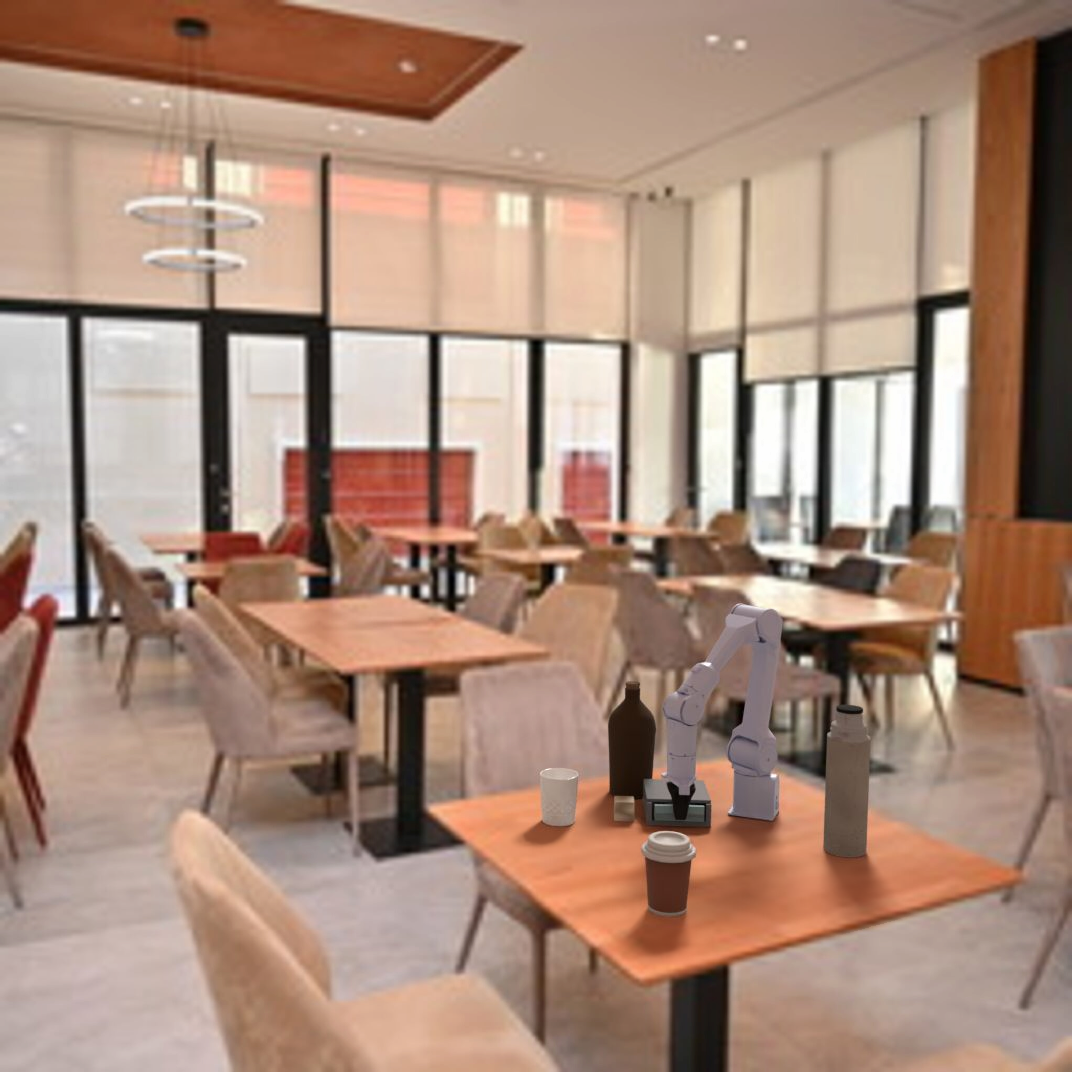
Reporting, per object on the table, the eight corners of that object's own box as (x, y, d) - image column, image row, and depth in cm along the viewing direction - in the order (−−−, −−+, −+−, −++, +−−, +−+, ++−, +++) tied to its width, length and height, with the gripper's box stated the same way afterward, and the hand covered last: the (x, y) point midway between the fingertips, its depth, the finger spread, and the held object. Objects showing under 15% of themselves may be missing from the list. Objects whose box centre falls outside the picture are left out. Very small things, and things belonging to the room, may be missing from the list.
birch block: (633, 815, 223) (633, 796, 223) (633, 821, 219) (634, 802, 219) (613, 814, 223) (614, 795, 223) (614, 820, 219) (614, 801, 219)
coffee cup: (705, 908, 177) (707, 838, 176) (672, 925, 171) (674, 852, 170) (662, 892, 184) (663, 824, 183) (628, 908, 177) (630, 837, 176)
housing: (702, 803, 231) (703, 780, 231) (710, 827, 217) (711, 802, 216) (642, 802, 232) (643, 778, 231) (646, 825, 217) (647, 800, 217)
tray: (697, 802, 228) (698, 788, 228) (704, 821, 216) (704, 806, 216) (650, 801, 228) (651, 787, 228) (654, 820, 216) (654, 805, 216)
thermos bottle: (835, 839, 211) (840, 699, 208) (873, 849, 205) (879, 706, 203) (815, 849, 205) (820, 706, 203) (854, 861, 199) (859, 713, 197)
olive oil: (625, 803, 231) (627, 689, 229) (597, 789, 240) (599, 680, 238) (664, 795, 236) (666, 684, 234) (635, 782, 245) (637, 675, 243)
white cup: (578, 828, 215) (578, 779, 214) (538, 827, 215) (539, 778, 214) (577, 815, 223) (578, 768, 222) (539, 814, 223) (540, 767, 222)
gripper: (659, 742, 221) (657, 806, 222) (664, 762, 207) (662, 831, 208) (693, 743, 221) (691, 807, 222) (701, 763, 206) (699, 832, 207)
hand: (680, 819), depth 215 cm, fingers closed
